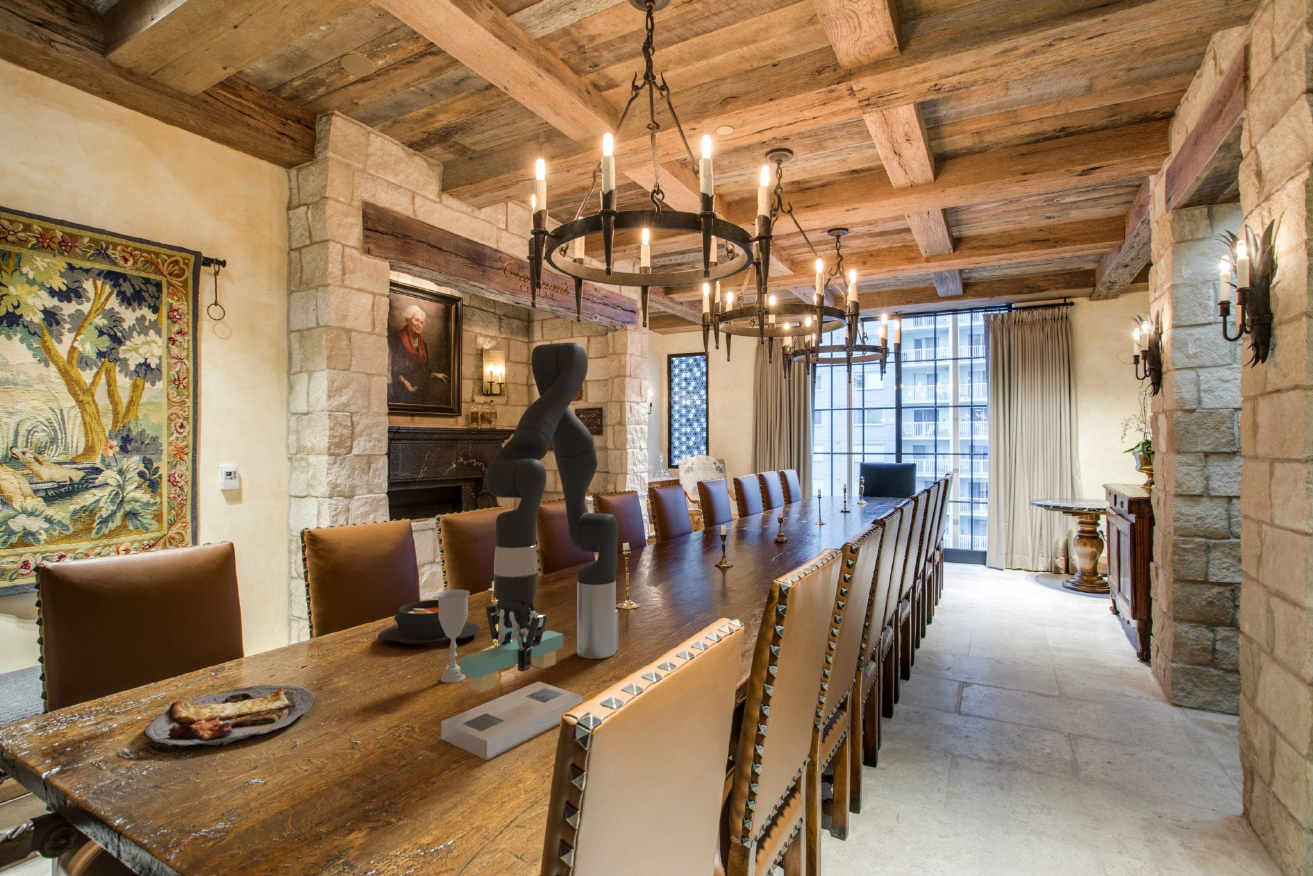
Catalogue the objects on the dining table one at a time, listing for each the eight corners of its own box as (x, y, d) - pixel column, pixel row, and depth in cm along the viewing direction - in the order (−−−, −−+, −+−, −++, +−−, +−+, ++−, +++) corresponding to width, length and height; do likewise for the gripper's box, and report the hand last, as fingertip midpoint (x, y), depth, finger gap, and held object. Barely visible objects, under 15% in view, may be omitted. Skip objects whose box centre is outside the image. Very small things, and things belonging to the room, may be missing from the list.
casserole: (486, 627, 170) (486, 596, 170) (470, 649, 151) (470, 615, 151) (393, 629, 168) (393, 598, 168) (365, 652, 150) (365, 617, 150)
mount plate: (538, 696, 123) (538, 681, 123) (583, 712, 116) (583, 695, 116) (441, 739, 105) (441, 721, 105) (487, 760, 98) (487, 741, 98)
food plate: (126, 767, 96) (127, 744, 96) (162, 711, 117) (163, 692, 117) (311, 736, 107) (312, 716, 108) (314, 691, 128) (315, 673, 128)
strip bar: (548, 658, 120) (548, 630, 120) (563, 662, 117) (563, 634, 117) (460, 690, 103) (460, 658, 104) (475, 695, 101) (475, 663, 101)
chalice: (458, 685, 128) (459, 598, 129) (429, 683, 130) (429, 596, 130) (476, 673, 136) (476, 590, 136) (447, 670, 137) (447, 588, 137)
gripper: (559, 571, 110) (558, 670, 109) (506, 563, 118) (505, 654, 118) (526, 579, 104) (526, 682, 103) (473, 569, 112) (472, 665, 112)
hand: (515, 667), depth 110 cm, fingers closed on strip bar, 4 cm apart
